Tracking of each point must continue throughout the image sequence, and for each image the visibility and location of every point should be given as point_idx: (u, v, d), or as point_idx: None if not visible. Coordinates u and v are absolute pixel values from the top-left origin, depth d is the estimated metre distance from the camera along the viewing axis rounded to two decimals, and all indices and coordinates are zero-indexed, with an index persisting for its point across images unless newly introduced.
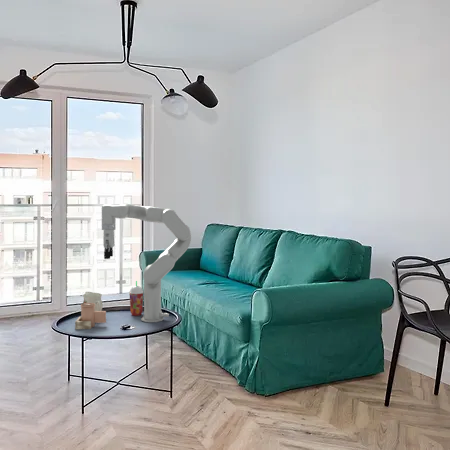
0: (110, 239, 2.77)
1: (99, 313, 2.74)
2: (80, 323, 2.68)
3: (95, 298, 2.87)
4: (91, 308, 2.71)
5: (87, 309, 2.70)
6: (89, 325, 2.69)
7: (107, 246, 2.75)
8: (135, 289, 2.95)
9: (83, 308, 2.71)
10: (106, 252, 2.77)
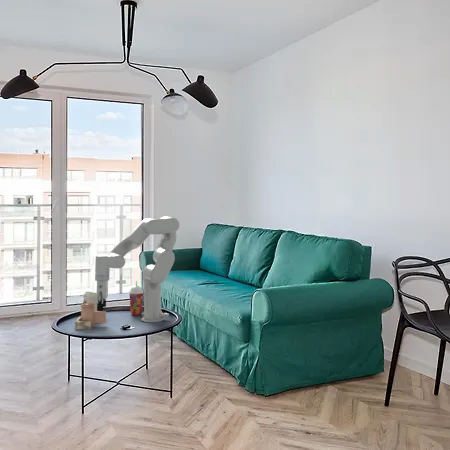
0: (103, 291, 2.69)
1: (99, 313, 2.74)
2: (80, 323, 2.68)
3: (95, 298, 2.87)
4: (91, 308, 2.71)
5: (87, 309, 2.70)
6: (89, 325, 2.69)
7: (100, 298, 2.66)
8: (135, 289, 2.95)
9: (83, 308, 2.71)
10: (99, 304, 2.68)
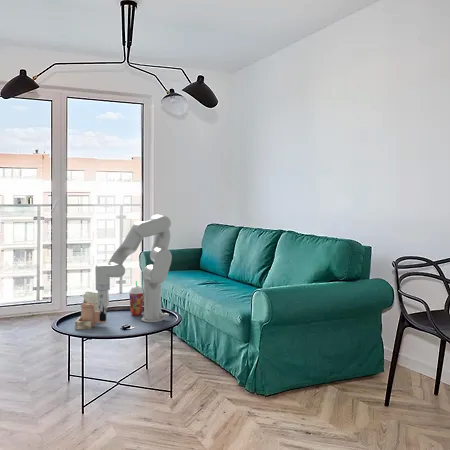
0: (104, 300, 2.69)
1: (99, 313, 2.74)
2: (80, 323, 2.68)
3: (95, 298, 2.87)
4: (91, 308, 2.71)
5: (87, 309, 2.70)
6: (89, 325, 2.69)
7: (102, 310, 2.70)
8: (135, 289, 2.95)
9: (83, 308, 2.71)
10: (102, 314, 2.73)
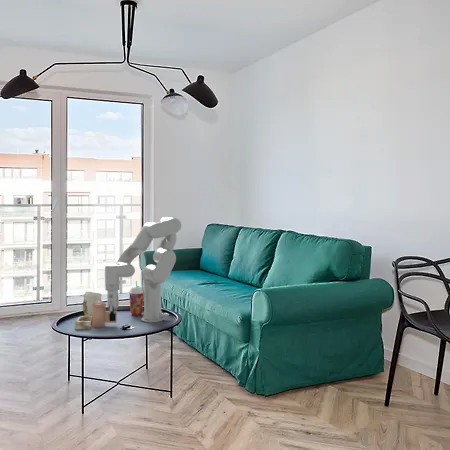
0: (114, 300, 2.70)
1: None
2: (80, 323, 2.68)
3: (95, 298, 2.87)
4: (102, 308, 2.72)
5: (98, 309, 2.71)
6: (89, 325, 2.69)
7: (112, 310, 2.71)
8: (135, 289, 2.95)
9: (94, 307, 2.71)
10: (111, 314, 2.73)
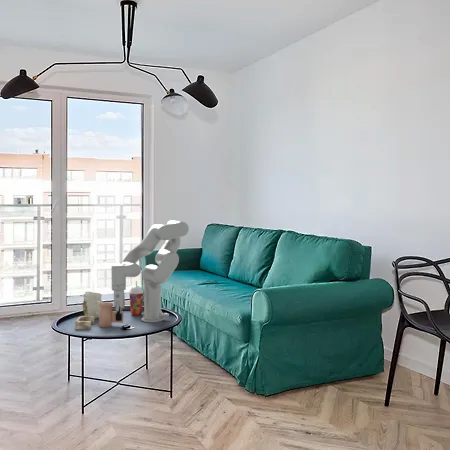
0: (121, 300, 2.70)
1: None
2: (80, 323, 2.68)
3: (95, 298, 2.87)
4: (109, 308, 2.72)
5: (105, 309, 2.71)
6: (89, 325, 2.69)
7: (119, 310, 2.71)
8: (135, 289, 2.95)
9: (101, 307, 2.72)
10: (118, 314, 2.73)
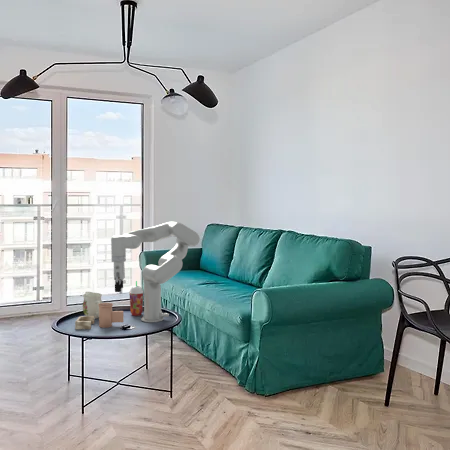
0: (121, 272, 2.69)
1: (117, 313, 2.75)
2: (80, 323, 2.68)
3: (95, 298, 2.87)
4: (109, 308, 2.72)
5: (105, 309, 2.71)
6: (89, 325, 2.69)
7: (118, 279, 2.66)
8: (135, 289, 2.95)
9: (101, 308, 2.71)
10: (117, 285, 2.68)
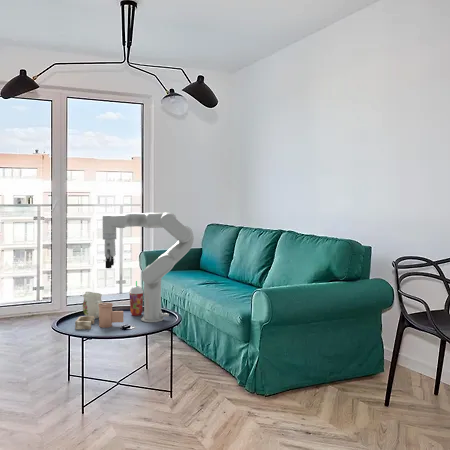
0: (111, 249, 2.80)
1: (117, 313, 2.75)
2: (80, 323, 2.68)
3: (95, 298, 2.87)
4: (109, 308, 2.72)
5: (105, 309, 2.71)
6: (89, 325, 2.69)
7: (108, 256, 2.78)
8: (135, 289, 2.95)
9: (101, 308, 2.71)
10: (107, 261, 2.80)
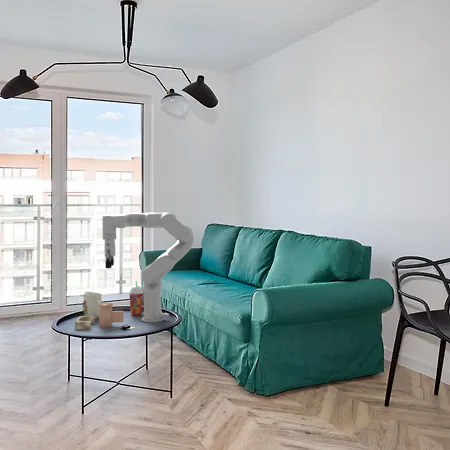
0: (111, 249, 2.80)
1: (117, 313, 2.75)
2: (80, 323, 2.68)
3: (95, 298, 2.87)
4: (109, 308, 2.72)
5: (105, 309, 2.71)
6: (89, 325, 2.69)
7: (108, 256, 2.78)
8: (135, 289, 2.95)
9: (101, 308, 2.71)
10: (107, 262, 2.80)
